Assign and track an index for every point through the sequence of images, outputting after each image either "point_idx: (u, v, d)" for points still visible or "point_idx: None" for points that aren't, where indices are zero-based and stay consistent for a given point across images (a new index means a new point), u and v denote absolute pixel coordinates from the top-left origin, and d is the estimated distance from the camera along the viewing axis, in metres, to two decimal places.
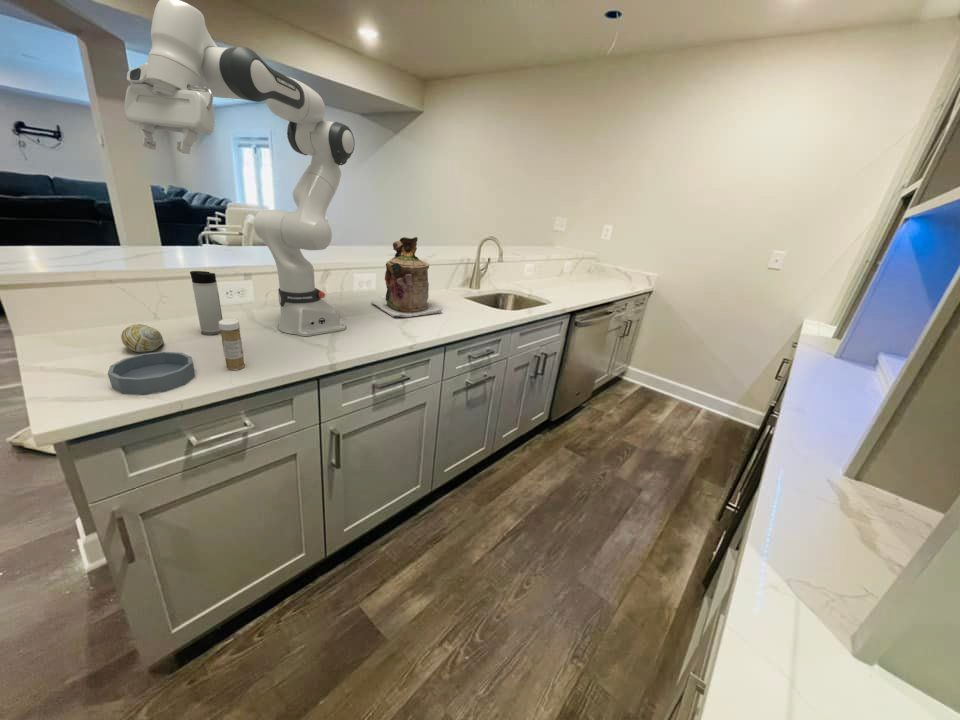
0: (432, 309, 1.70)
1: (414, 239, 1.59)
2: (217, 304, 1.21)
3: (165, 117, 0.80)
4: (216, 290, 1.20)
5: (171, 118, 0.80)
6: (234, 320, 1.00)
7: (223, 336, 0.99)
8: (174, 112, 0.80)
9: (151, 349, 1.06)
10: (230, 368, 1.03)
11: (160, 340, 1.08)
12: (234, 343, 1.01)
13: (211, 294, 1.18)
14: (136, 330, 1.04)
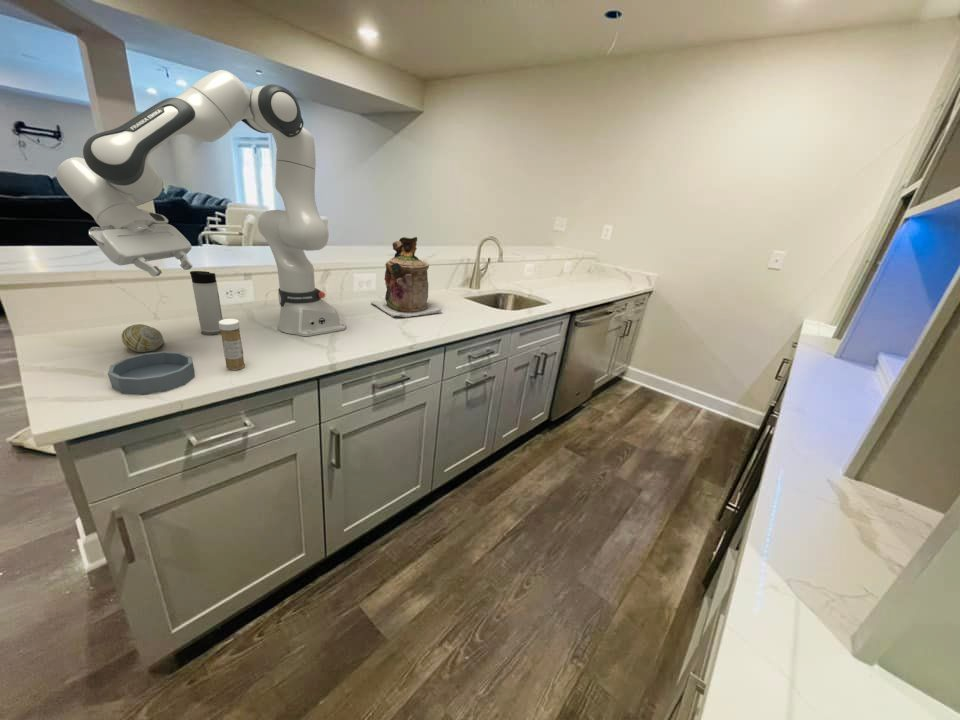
0: (432, 309, 1.70)
1: (414, 239, 1.59)
2: (217, 304, 1.21)
3: None
4: (216, 290, 1.20)
5: None
6: (234, 320, 1.00)
7: (223, 336, 0.99)
8: None
9: (151, 349, 1.07)
10: (230, 368, 1.03)
11: (160, 340, 1.08)
12: (234, 343, 1.01)
13: (211, 294, 1.18)
14: (136, 330, 1.04)
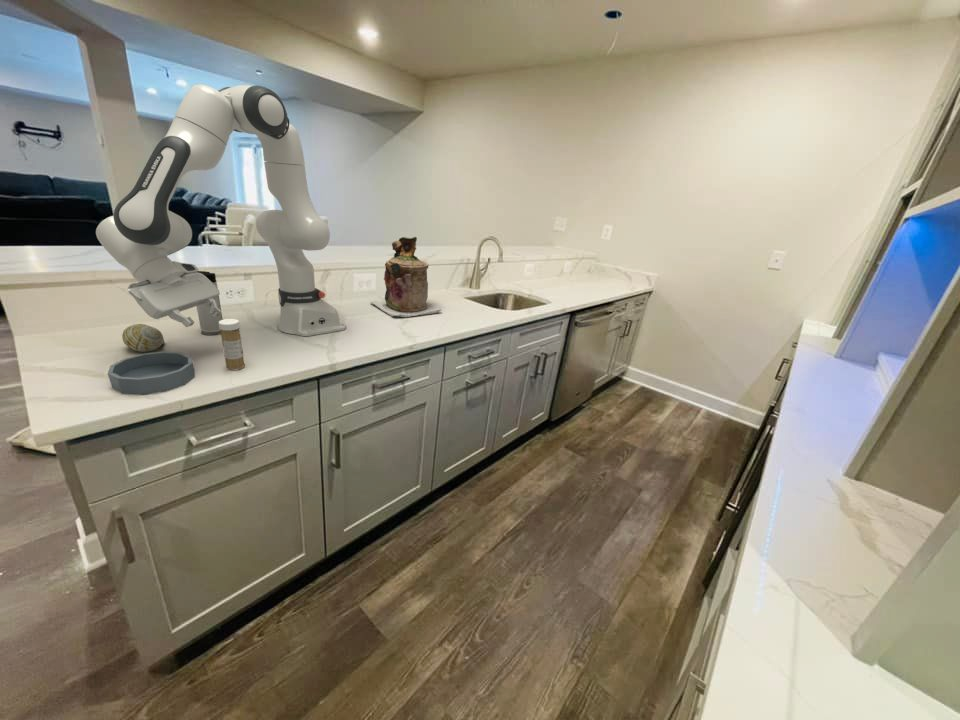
0: (431, 309, 1.70)
1: (413, 239, 1.59)
2: (217, 304, 1.21)
3: None
4: None
5: None
6: (234, 320, 1.00)
7: (223, 336, 0.99)
8: None
9: (152, 348, 1.07)
10: (230, 368, 1.03)
11: (161, 339, 1.08)
12: (234, 343, 1.01)
13: None
14: (137, 329, 1.05)
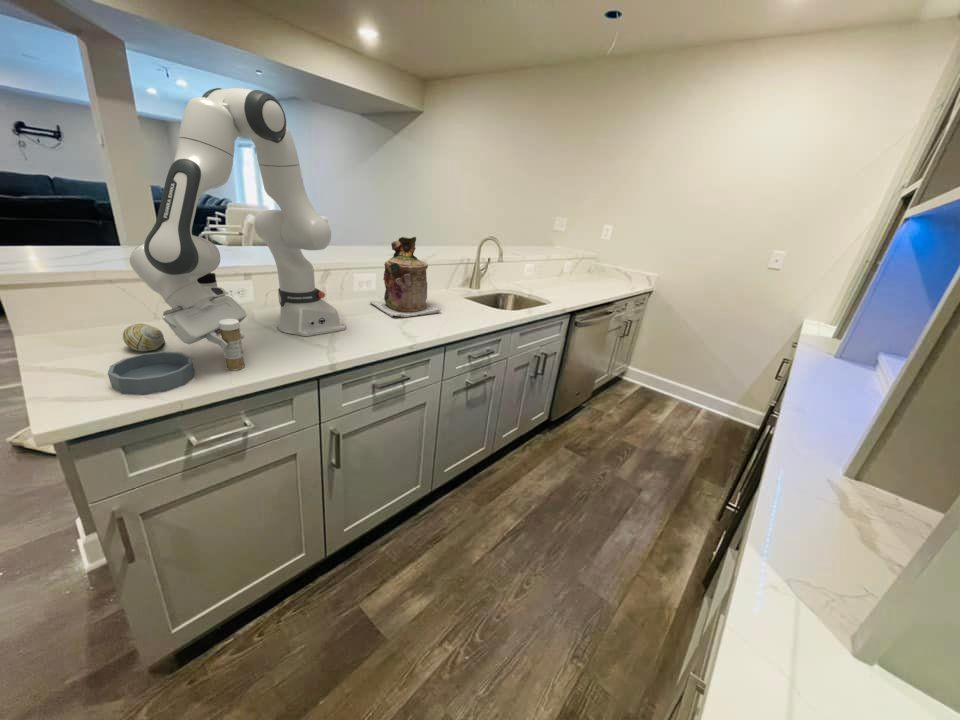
0: (431, 309, 1.70)
1: (413, 239, 1.59)
2: None
3: None
4: None
5: None
6: (234, 320, 1.00)
7: (223, 336, 0.99)
8: None
9: (153, 348, 1.07)
10: (230, 368, 1.03)
11: (162, 339, 1.09)
12: (234, 343, 1.01)
13: None
14: (138, 329, 1.05)
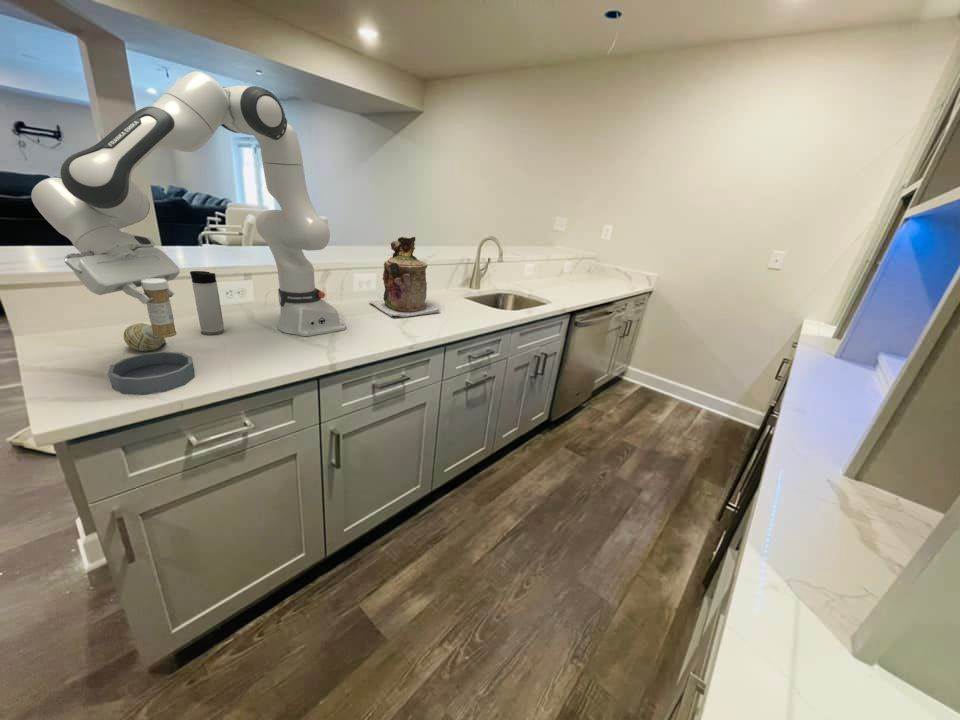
0: (430, 309, 1.70)
1: (412, 239, 1.59)
2: (217, 304, 1.21)
3: None
4: (216, 290, 1.20)
5: None
6: (160, 279, 0.88)
7: None
8: None
9: (154, 348, 1.07)
10: (156, 335, 0.90)
11: (162, 339, 1.09)
12: (160, 305, 0.88)
13: (211, 294, 1.18)
14: (139, 329, 1.05)
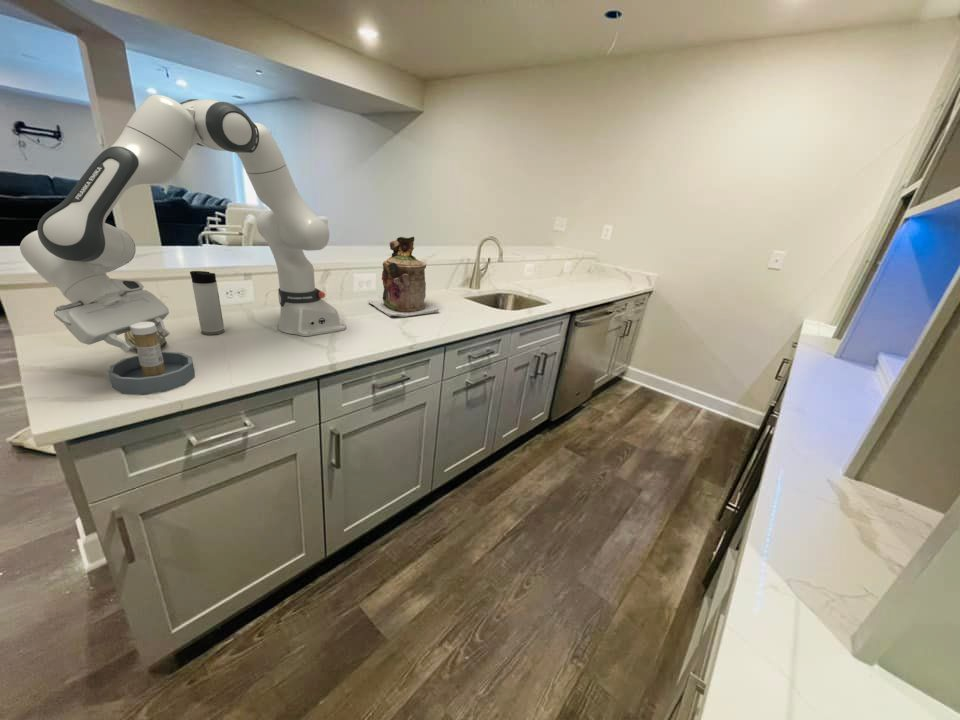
0: (429, 309, 1.70)
1: (411, 239, 1.59)
2: (217, 304, 1.21)
3: None
4: (216, 290, 1.20)
5: None
6: (149, 323, 0.90)
7: (135, 341, 0.89)
8: None
9: None
10: None
11: (163, 338, 1.09)
12: (149, 349, 0.90)
13: (211, 294, 1.18)
14: None
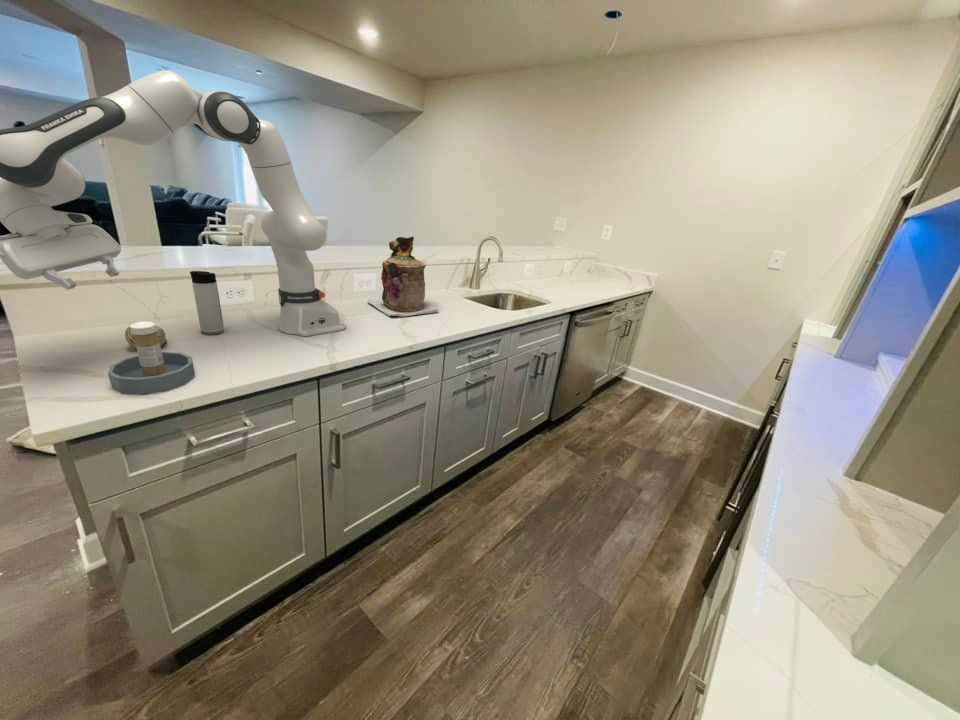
0: (428, 309, 1.70)
1: (410, 239, 1.59)
2: (217, 304, 1.21)
3: None
4: (216, 290, 1.20)
5: None
6: (149, 323, 0.90)
7: (135, 341, 0.89)
8: None
9: None
10: None
11: (164, 338, 1.10)
12: (149, 349, 0.90)
13: (211, 294, 1.18)
14: None
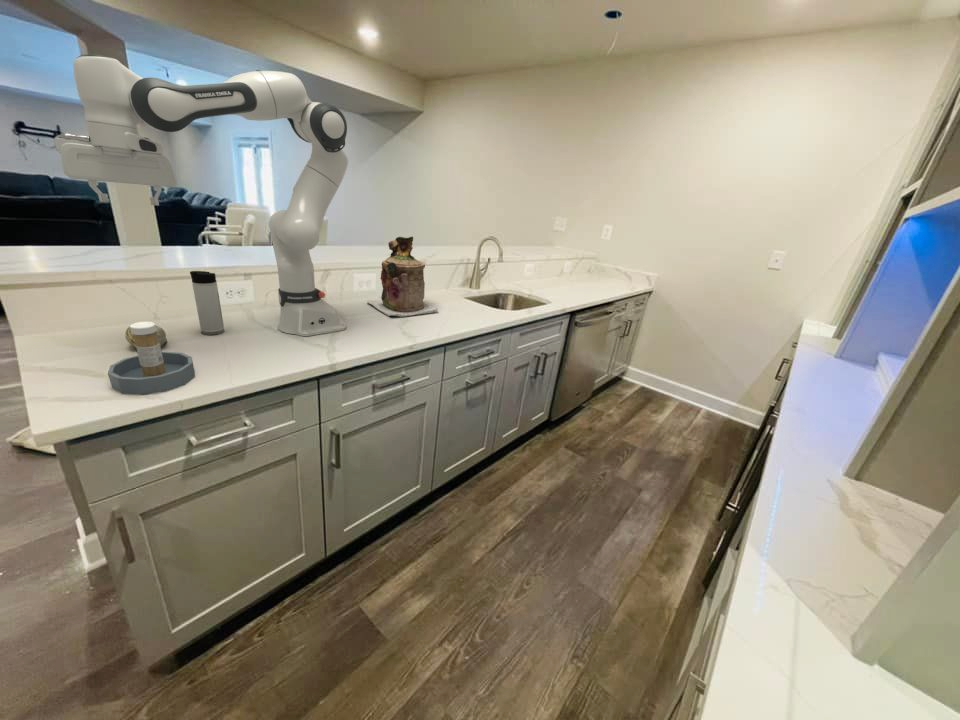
0: (428, 308, 1.70)
1: (410, 238, 1.59)
2: (217, 304, 1.21)
3: None
4: (216, 290, 1.20)
5: None
6: (149, 323, 0.90)
7: (136, 341, 0.89)
8: None
9: None
10: None
11: (164, 337, 1.10)
12: (149, 349, 0.90)
13: (211, 294, 1.18)
14: None
